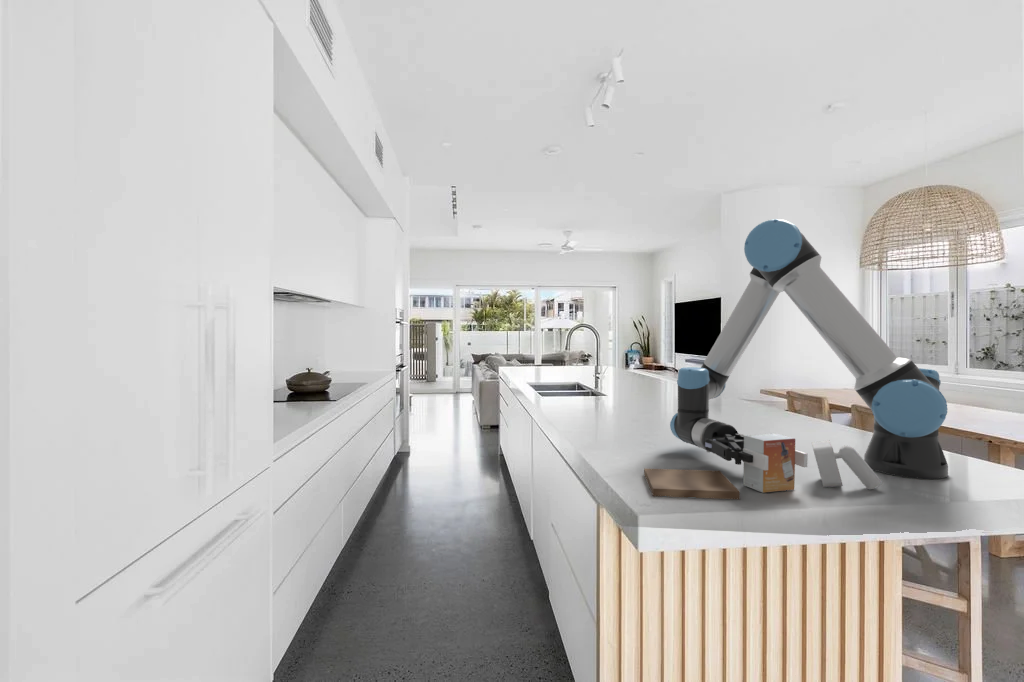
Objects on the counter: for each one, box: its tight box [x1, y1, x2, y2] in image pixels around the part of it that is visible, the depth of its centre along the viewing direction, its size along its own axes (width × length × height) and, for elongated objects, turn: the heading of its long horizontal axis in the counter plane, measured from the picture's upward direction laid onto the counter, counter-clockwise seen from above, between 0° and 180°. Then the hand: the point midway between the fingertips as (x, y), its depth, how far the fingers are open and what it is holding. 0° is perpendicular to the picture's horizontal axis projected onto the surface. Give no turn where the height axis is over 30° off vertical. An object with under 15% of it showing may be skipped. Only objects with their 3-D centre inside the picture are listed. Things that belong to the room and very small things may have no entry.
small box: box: [742, 432, 796, 494], centre depth 104 cm, size 8×6×10 cm
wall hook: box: [811, 439, 883, 490], centre depth 105 cm, size 8×10×10 cm
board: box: [643, 467, 741, 500], centre depth 105 cm, size 16×14×2 cm
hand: (786, 461), depth 99 cm, fingers closed on small box, 8 cm apart
